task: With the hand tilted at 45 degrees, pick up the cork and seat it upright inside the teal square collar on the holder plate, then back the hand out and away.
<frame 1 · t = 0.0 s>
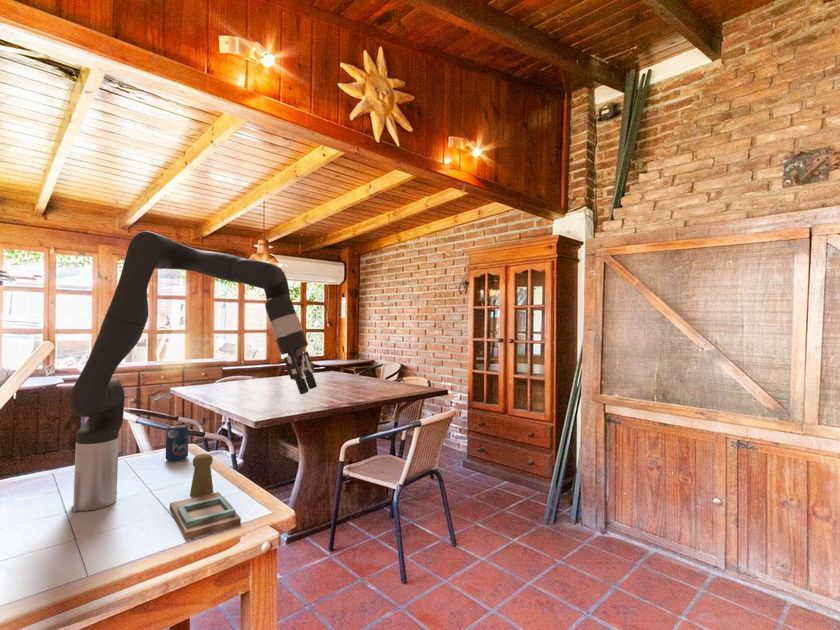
hand: (309, 390, 114), 31 cm above the table, tool tilted 20°, fingers open, 8 cm apart
cork: (201, 494, 122), on the table
holder plate: (203, 516, 108), on the table
soda can: (176, 460, 151), on the table
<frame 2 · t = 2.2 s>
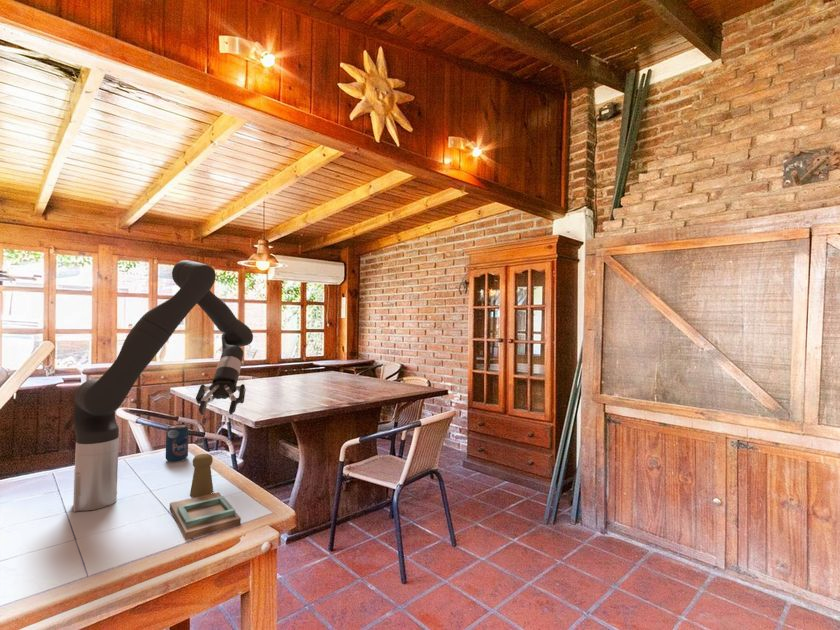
hand: (216, 413, 134), 20 cm above the table, tool tilted 45°, fingers open, 8 cm apart
nothing on the table moved.
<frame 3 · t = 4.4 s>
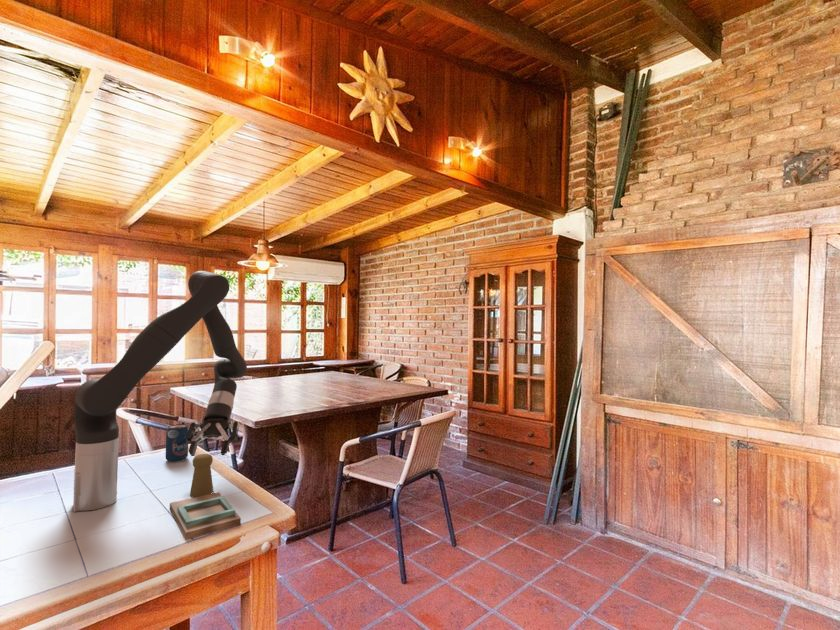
hand: (207, 454, 127), 10 cm above the table, tool tilted 45°, fingers open, 8 cm apart
nothing on the table moved.
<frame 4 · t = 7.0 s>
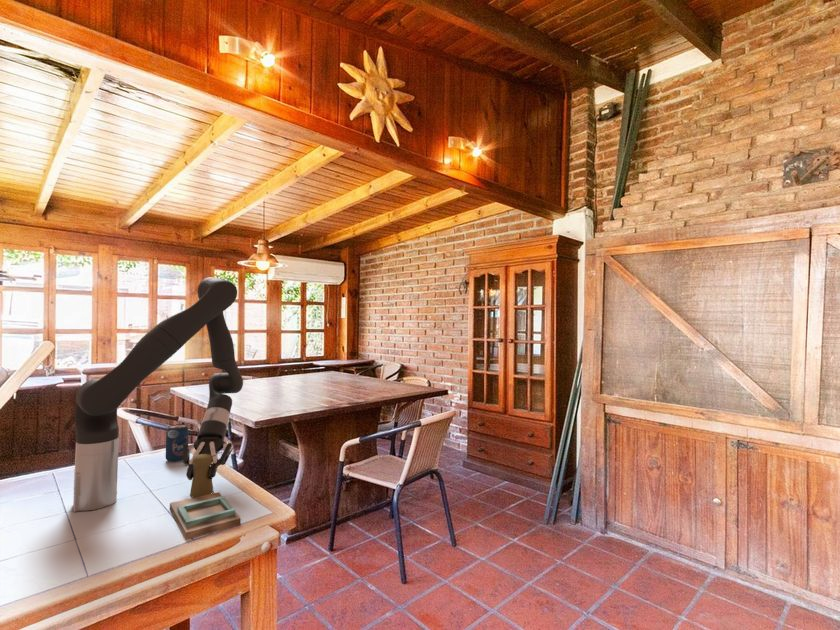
hand: (200, 478, 121), 5 cm above the table, tool tilted 45°, fingers closed on cork, 4 cm apart
cork: (201, 493, 122), on the table, touching gripper
everything else where it was.
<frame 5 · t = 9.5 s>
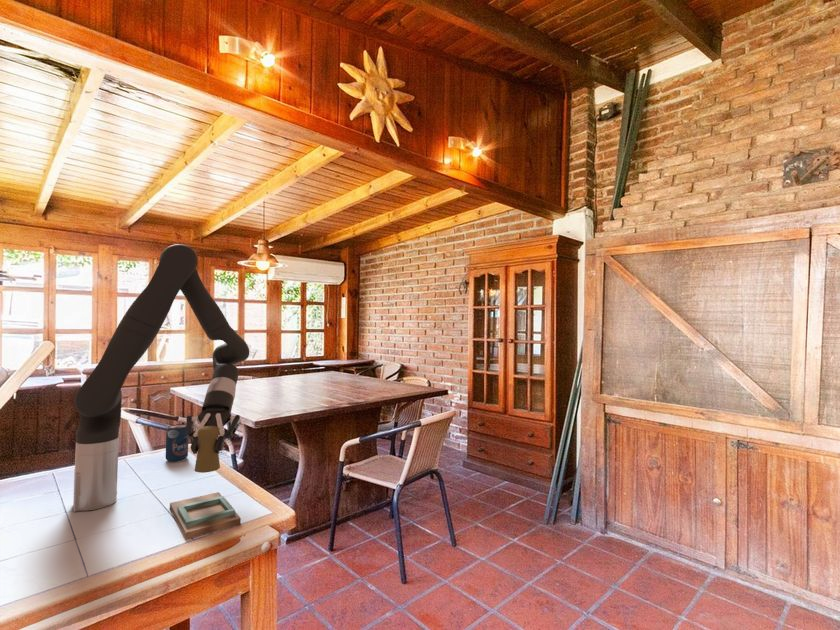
hand: (205, 451, 110), 16 cm above the table, tool tilted 45°, fingers closed on cork, 4 cm apart
cork: (207, 469, 112), point 11 cm above the table, touching gripper
everything else where it was.
when the fingers open (8 cm above the table, at t = 12.2 s): cork drops 2 cm, resting on holder plate.
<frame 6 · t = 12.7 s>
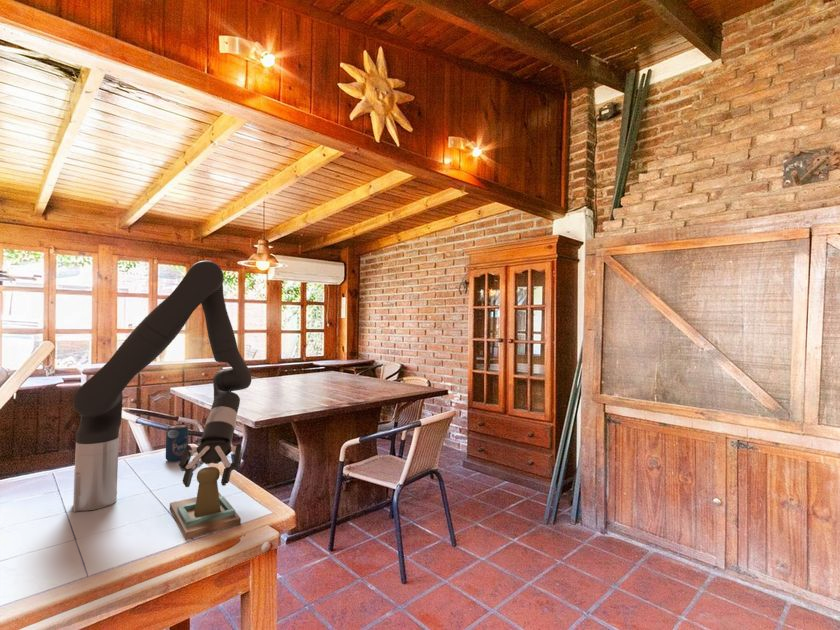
hand: (205, 485, 105), 9 cm above the table, tool tilted 45°, fingers open, 8 cm apart
cork: (207, 513, 107), point 1 cm above the table, touching holder plate
everything else where it was.
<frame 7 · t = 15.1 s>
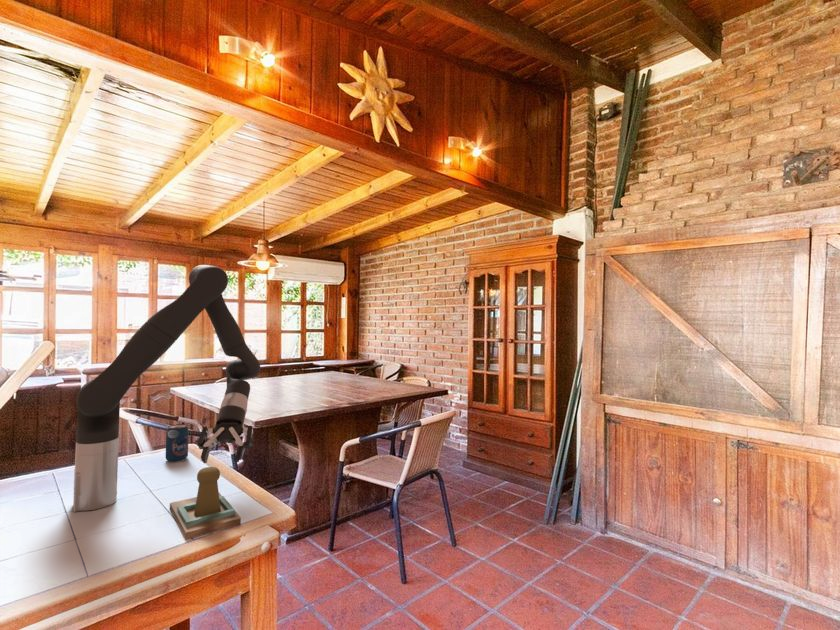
hand: (220, 461, 118), 11 cm above the table, tool tilted 45°, fingers open, 8 cm apart
nothing on the table moved.
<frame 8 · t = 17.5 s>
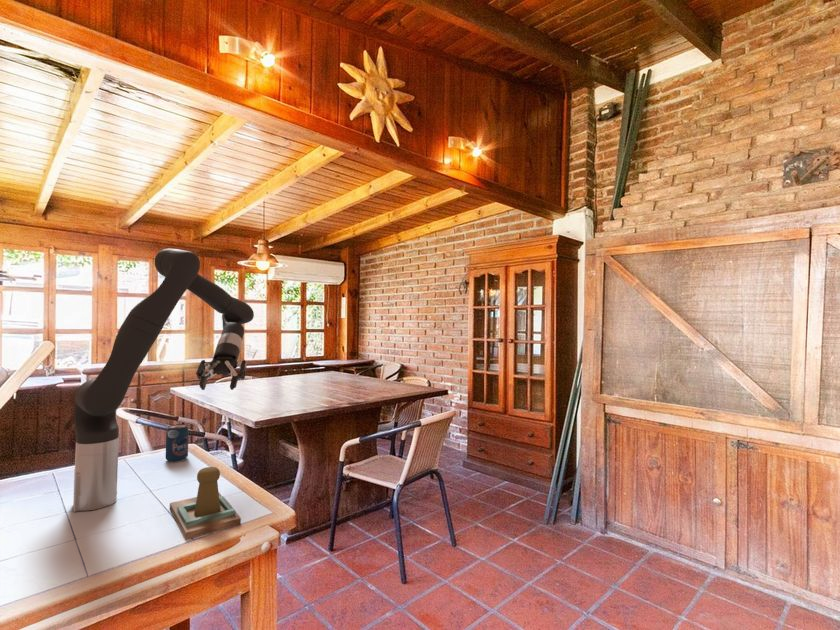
hand: (217, 388, 132), 29 cm above the table, tool tilted 45°, fingers open, 8 cm apart
nothing on the table moved.
at the end: cork 0.4 cm from the target spot on the holder plate, point 1.3 cm above the holder plate's base; cork tilted 0°; the gripper is holding nothing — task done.
